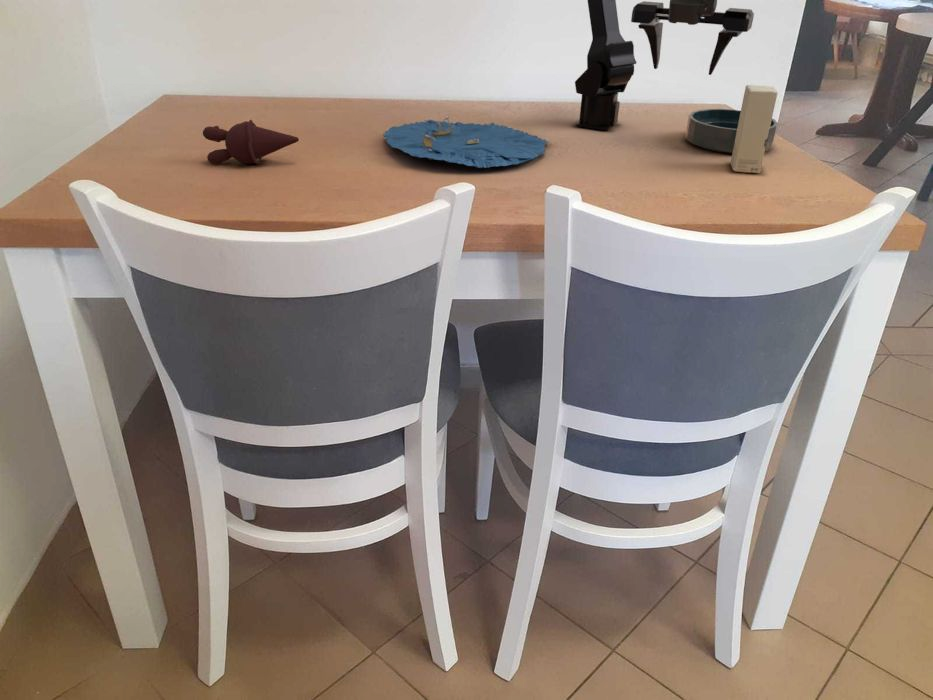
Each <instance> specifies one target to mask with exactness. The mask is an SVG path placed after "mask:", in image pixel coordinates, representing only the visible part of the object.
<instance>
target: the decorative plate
mask: <svg viewBox="0 0 933 700" xmlns="http://www.w3.org/2000/svg"><path fill="white" fill-rule="evenodd" d="M449 119H450V117H449V116H446V117H444V119H443V121H439V120H434V119H428V120H425V119H424V121H416V122H410V123H404V124H402V125H397V126H392V127H390V128H389V129H388V130H385V131H384V133H383V134H382V138H383V139H384V138H385V141H386V142H387V144H388V145H389V146H390V147H391V148H393V149H399V150H400V151H402V152H403V153H406V154H409V156H411V157H417V158H421V159H423V158H427V159H428V161H433V160H436V161H445V162H446V163H455V164H458V165H465V166H467V167H475V168H478V169H483V168H485V169H487V168H488V169H489V168H491V167H501V166H502V167H507V166H508V167H509V166H511V165H515V166H517V165H519V164H524V163H525V162H529V161H531V160H534V159H536V158H538V157H540V155H543V154H544V153H545V152H546V147H545V146H546V145H547V143H548V141H547V140H546V139H543V138H542V137H538V136H537V135H532V134H529V132H527V131H526V132H524V131H523V130H520V129H514V128H513V127H509V126H507V125H499V124H495V123H494V122H490V123H489V122H488V123H484V124H481V123H474V122H469V123H463V122H458V121H457V122H455V123H453V122H450V120H449Z"/></svg>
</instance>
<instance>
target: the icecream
mask: <svg viewBox="0 0 933 700" xmlns="http://www.w3.org/2000/svg"><path fill="white" fill-rule="evenodd" d="M202 136H203V137H204V138H205V140H208V141H211V142H215V143H220V142H224V143H225V144H224V145H225V148H220V149H219V148H218V149H215V150H212V151H210V152H208V154H207V156H206V159H207V161H208V163H210V164H222V163H225V162H227V161H229V160H230V159H232V158H233V159H234V160H235V161H237V162H239V163H242V164H250V165H254V164H256V165H260V164H261V161H262V158H264V157H266V156H268V155H271V154H273V153H275V152H277V151H279V150H282V149H284V148H286V147H288V146H291V145H293V144H295V143H297V142H300V141H299V137H297V136H295V135H291V134H287V133H283V132H279V131H275V130H272V129H268V128H264V127H261V126H257V125H256V123H254V121H253V120H252V119H249V120H248V121H246V120H245V121H243V122H239V123H235V124H234V125H233V126H231V127H230V128H229V129H228V130H226V129H224V128H220V127H219V125H214V126H206V127H204V128H203V130H202Z"/></svg>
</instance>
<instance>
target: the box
mask: <svg viewBox="0 0 933 700" xmlns="http://www.w3.org/2000/svg"><path fill="white" fill-rule="evenodd" d="M778 93H779V92H778V91H777V89H776V88H775V87H774V86H770V85H755V84H747V85H745V89H744V93H743V98H742V103H741V113H740V118H739V123H738V128H737V133H736V138H735V143H734V148H733V153H731V154H732V155H731V159H730V166H731V168H732V171H733V172H736V173H737V172H739V173H751V174H759V173H761V170H762V166H763V161H764V156H765V153H766V151H765V148H766V143H767V139H768V134H769V129H770V125H771V120H772V119H773V116H774V110H775V107H776V103H777V102H776V101H777V97H778Z"/></svg>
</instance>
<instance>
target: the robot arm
mask: <svg viewBox="0 0 933 700" xmlns="http://www.w3.org/2000/svg"><path fill="white" fill-rule="evenodd" d="M668 5H669V7H668V8H667V7H664V2H657V1H645V0H644V1H641V2H638V3H636V4H635V5H634V6H633V7H632V11H631V18H630V22H631V23H636V24H638V25H637V26H638V29H641V30H644V33H645V35H646V36H647V37H646V38H647V40H648V43H649V49H650V53H651V59H652V66H653V70H657V69H658V68H659V63H660V58H661V50H662V49H661V48H662V40H663V39H662V37H663V28H664V22H661V21H668V22H669V23H670V24H677V23H681V24H687V25H690V26H695V25H698V24H707V25H708V24H709V25H719V26H722V28H723V29H722V30H720V31H718V34H717V39H716V43H715V48H714V50H713V54H712V57H711V61H710V64H709V69H708V75H709V76H712V75H713V73H714V71H715V69H716V67H717V65H718V63H719V61H720V59H721V57H722V55H723V54H724V51H725V50H726V48H727V47H728V45H729V43H730V42H731V41H732V39H733V38H737V37H739V36H740V35H741V34H743V33H747V32H748V31H750V30H751V29H752V26H753V21H754V18H755V17H754V15H755V12H753V10H752V9H750V8H737V7H728V8H727V9H726V10H725V11H724V12H722V11H716V10H717V6H718V0H669V4H668ZM587 7H588V15H589V21H590V29H591V35H592V36H591V37H592V39H591V40H592V41H591V43H590V46H589V49H588V51H587V55H586V67H587V68H586V70H584V71H583V72H582V74H581V75H579V77H578V78H577V79H576V80H575V81H574V87H575V93H576V94H579V95H581V101H580V110H579V111H580V112H579V119H578V120H579V121H578V122H576V123H575V126H576V127H579V128H587V129H593V130H601V131H610V130H611V129H612V128H613V127H615V126H616V125H617V124H618V121H619V120H618V119H619V112H620V111H619V110H620V105H621V103H620V101H618V97H619V93H624V92H625V90H626V88H627V86H628V83H629V82H630V80H631V78H632V77H633V76H634V74H635V65H636V64H637V60H636V58H635V53H634V52H635V50H634V49H635V45H634V42H633V40H626V41H625V39H624V37H623V35H622V34H621V31H620V24H619V17H618V9H617V8H618V7H617V1H616V0H587Z"/></svg>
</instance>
